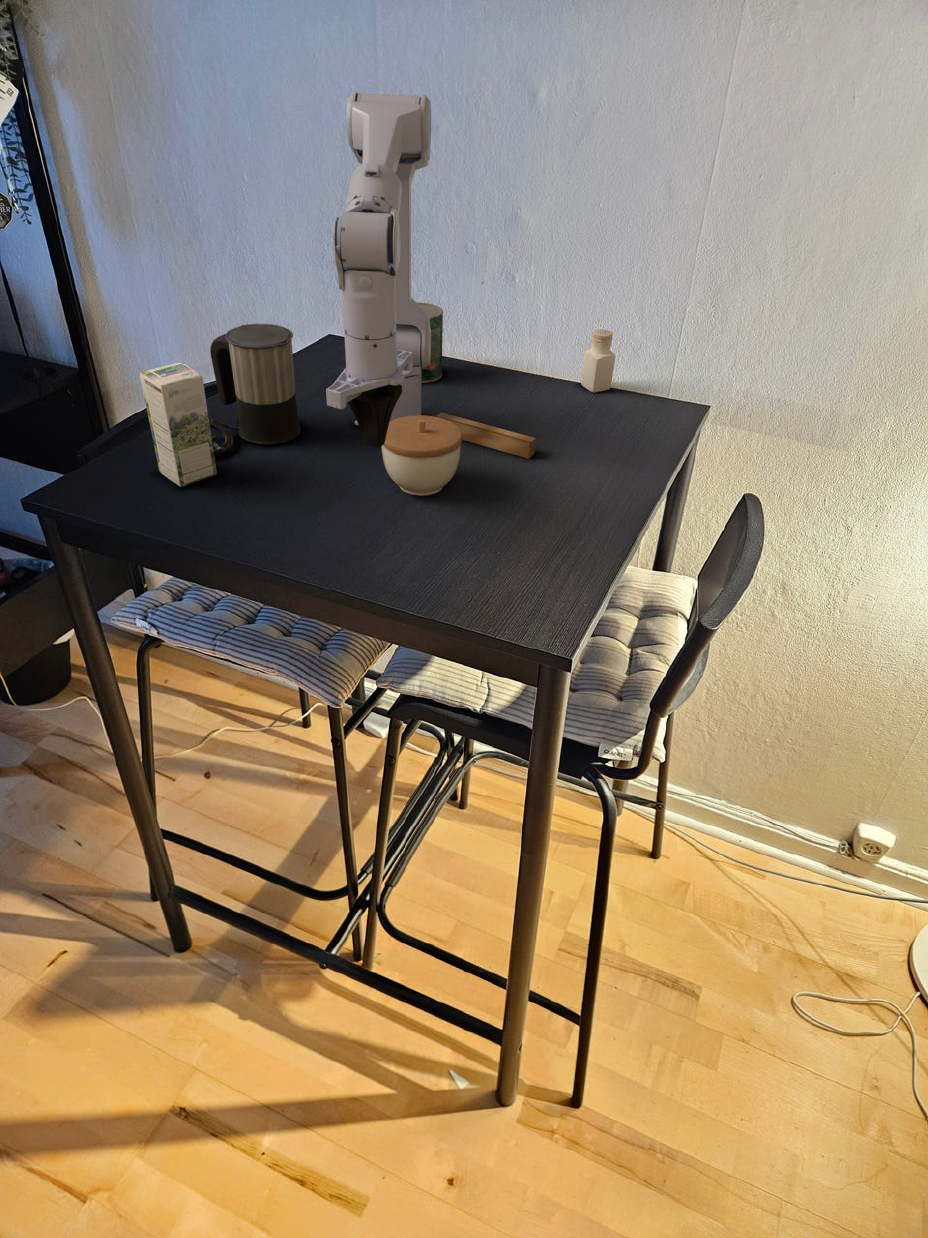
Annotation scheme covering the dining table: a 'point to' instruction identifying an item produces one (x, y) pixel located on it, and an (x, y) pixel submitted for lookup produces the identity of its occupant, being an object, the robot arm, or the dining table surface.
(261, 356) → the milk frother
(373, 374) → the robot arm
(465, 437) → the rail
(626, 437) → the dining table surface
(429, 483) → the trinket box
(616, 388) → the dining table surface
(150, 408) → the syrup box
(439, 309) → the canned tomato
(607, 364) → the pepper shaker
